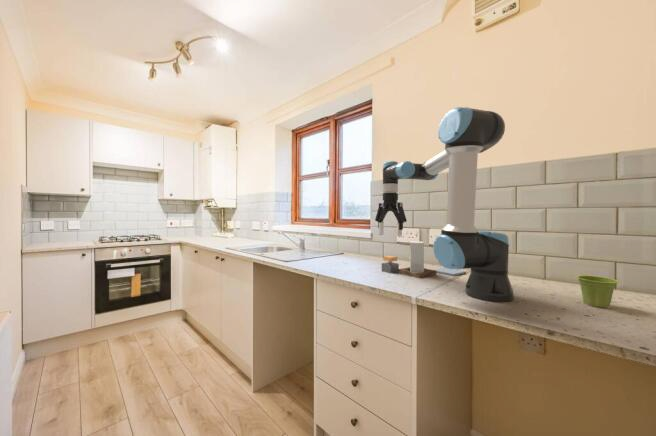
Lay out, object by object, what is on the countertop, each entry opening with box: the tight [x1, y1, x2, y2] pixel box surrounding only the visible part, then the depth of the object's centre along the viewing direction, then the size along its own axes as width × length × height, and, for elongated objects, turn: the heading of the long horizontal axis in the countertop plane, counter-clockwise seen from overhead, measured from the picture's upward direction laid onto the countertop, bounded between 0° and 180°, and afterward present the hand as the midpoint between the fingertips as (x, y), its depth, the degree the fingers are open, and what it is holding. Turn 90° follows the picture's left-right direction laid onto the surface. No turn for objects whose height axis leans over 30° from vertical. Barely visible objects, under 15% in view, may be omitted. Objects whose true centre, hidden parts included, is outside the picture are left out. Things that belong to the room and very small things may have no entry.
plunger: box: [382, 255, 398, 264], centre depth 139 cm, size 5×5×6 cm
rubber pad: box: [435, 267, 467, 277], centre depth 136 cm, size 11×11×1 cm
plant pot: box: [576, 275, 619, 309], centre depth 88 cm, size 9×9×9 cm
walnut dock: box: [397, 266, 437, 279], centre depth 134 cm, size 12×13×2 cm
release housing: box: [381, 261, 400, 274], centre depth 139 cm, size 6×6×4 cm
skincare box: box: [409, 241, 425, 273], centre depth 134 cm, size 8×7×16 cm
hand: (389, 235), depth 138 cm, fingers open, 11 cm apart
